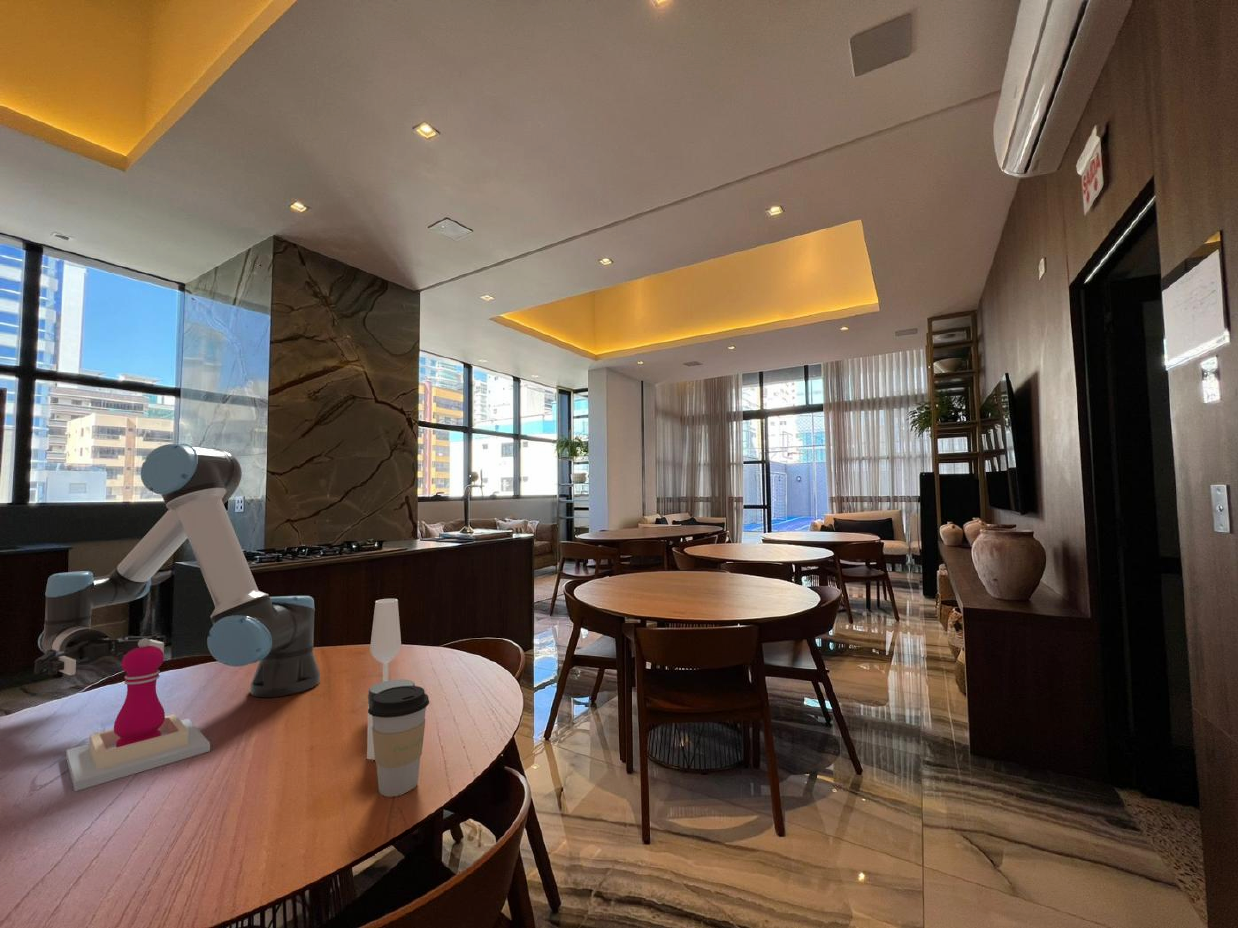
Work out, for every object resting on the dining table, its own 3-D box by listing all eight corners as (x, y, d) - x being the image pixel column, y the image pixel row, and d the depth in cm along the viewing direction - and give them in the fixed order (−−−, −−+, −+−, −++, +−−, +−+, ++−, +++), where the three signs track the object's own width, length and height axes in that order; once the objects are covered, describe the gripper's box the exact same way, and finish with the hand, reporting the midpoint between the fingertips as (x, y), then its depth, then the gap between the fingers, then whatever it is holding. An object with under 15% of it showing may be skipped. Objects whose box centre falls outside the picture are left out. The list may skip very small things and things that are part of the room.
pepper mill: (173, 740, 102) (177, 635, 104) (128, 757, 95) (134, 644, 97) (148, 735, 104) (153, 632, 106) (102, 751, 98) (109, 641, 99)
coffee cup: (406, 805, 82) (408, 706, 83) (353, 799, 84) (355, 702, 85) (439, 774, 91) (440, 685, 92) (390, 769, 93) (391, 682, 94)
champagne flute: (362, 708, 120) (364, 602, 122) (385, 698, 127) (386, 597, 128) (384, 713, 118) (386, 604, 119) (406, 702, 124) (408, 598, 126)
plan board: (188, 725, 112) (188, 706, 113) (209, 750, 101) (210, 729, 101) (65, 757, 99) (67, 735, 99) (74, 791, 87) (76, 766, 87)
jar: (402, 736, 106) (403, 675, 107) (424, 748, 101) (425, 684, 101) (357, 753, 99) (358, 688, 100) (377, 767, 94) (378, 698, 95)
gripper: (152, 648, 128) (192, 660, 118) (-4, 680, 107) (28, 697, 96) (153, 617, 129) (193, 625, 118) (-2, 642, 107) (30, 655, 96)
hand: (119, 658), depth 107 cm, fingers open, 13 cm apart
